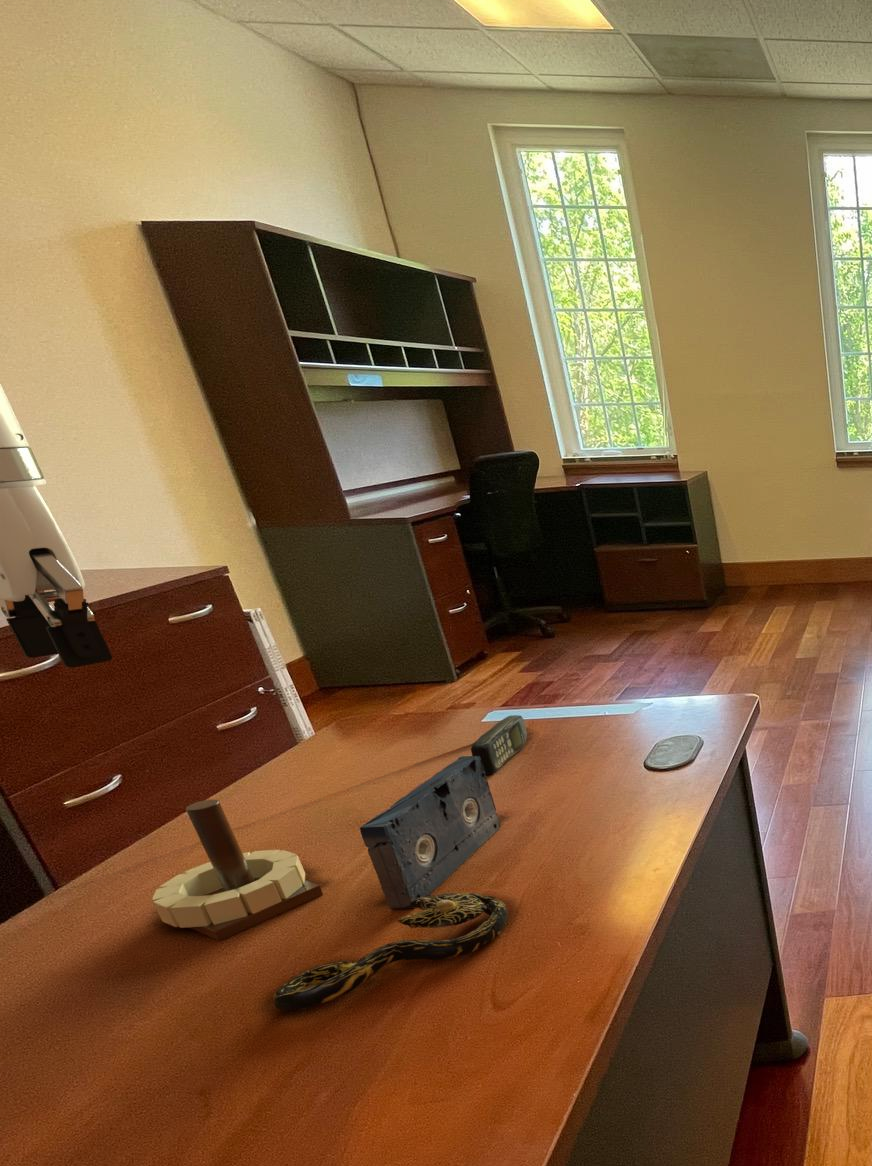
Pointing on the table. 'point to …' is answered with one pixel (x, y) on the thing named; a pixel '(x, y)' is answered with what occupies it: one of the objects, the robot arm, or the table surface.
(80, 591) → the robot arm
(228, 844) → the post
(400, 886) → the vhs cassette tape
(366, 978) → the rubber snake
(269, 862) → the cream segmented ring
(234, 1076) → the table surface
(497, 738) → the mobile phone
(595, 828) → the table surface
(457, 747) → the table surface
